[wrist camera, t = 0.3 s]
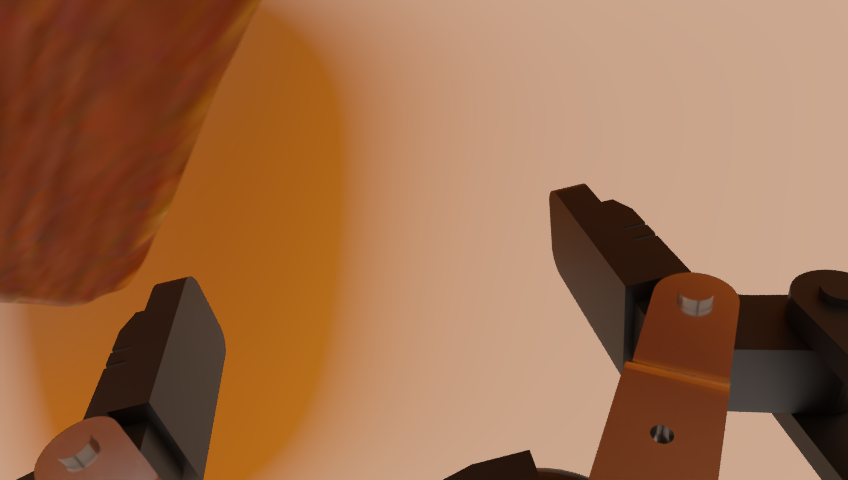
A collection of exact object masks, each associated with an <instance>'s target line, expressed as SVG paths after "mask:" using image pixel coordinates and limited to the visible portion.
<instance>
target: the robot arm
mask: <svg viewBox="0 0 848 480" xmlns="http://www.w3.org/2000/svg"><path fill="white" fill-rule="evenodd" d="M549 202H550V203H549V204H550V219H551V220H550V221H551V236H552V251H553V256H554V260H555V264H556V266H557V269H558V272H559V274H560V275H561V277H562V279H563V280H564V282H565V284H566V285H567V287H568V288H569V290H570V292H571V294H572V295H573V297H574V299H575V300H576V302H577V303H578V305H579V307H580V308H581V310H582V312H583V313H584V315H585V316H586V318H587V320H588V322H589V323H590V325H591V327H592V328H593V330H594V332H595V333H596V335H597V336H598V338H599V340H600V341H601V343H602V345H603V346H604V348H605V350H606V351H607V353H608V355H609V356H610V358H611V360H612V361H613V363H614V365H615V366H616V368H617V369H618V371H619V373H620V374H621V377H620V380H619V383H618V386H617V389H616V393H615V396H614V399H613V402H612V406H611V409H610V412H609V415H608V419H607V422H606V425H605V428H604V432H603V434H602V438H601V441H600V444H599V447H598V451H597V454H596V457H595V460H594V463H593V467H592V470H591V473H590V476H589V478H588V477H586V476H583V475H580V474H577V473H573V472H569V471H564V470H559V469H551V468H536V466H535V463H534V461H533V458H532V455H531V453H530V450H527V451H523V452H519V453H516V454H511V455H508V456H503V457H500V458H496V459H492V460H488V461H484V462H480V463H476V464H472V465H470V466H468V467H466V468H465V469H463V470H461V471H459V472H457V473H455V474H453V475H451V476H449V477H447V478H445V479H444V480H718V476H719V469H720V461H721V453H722V445H723V438H724V431H725V423H726V415H727V411H739V412H767V413H772V414H773V415H774V417H775V418H776V420H777V421H778V422H779V424H780V425H781V426H782V428H783V429H784V430H785V431H786V433H787V434H788V435H789V437H790V438H791V439H792V441H793V442H794V443H795V445H796V446H797V447H798V448H799V450H800V451H801V453H802V454H803V455H804V457H805V458H806V459H807V461H808V462H809V463H810V465H811V466H812V467H813V469H814V470H815V471H816V473H817V474H818V475H819V477H820V478H821V479H822V480H848V273H847V272H843V271H836V270H816V271H810V272H806V273H803V274H801V275H799V276H798V277H796V278H795V279H794V280H793V281H792V283H791V286H790V290H789V294H788V295H739V294H737V293H736V291H735V290H734V289H733V288H732V287H731V286H730V285H729V284H727V283H726V282H724V281H722V280H721V279H718V278H716V277H713V276H710V275H707V274H702V273H694V272H691V271H690V270H689V269H688V268H687V267H686V266H685V265H684V264H683V263H682V262H681V261H680V259H678V257H677V256H676V255H675V254H674V253H673V252H672V251H671V250H670V249H669V248H668V246H667V245H666V244H664V242H663V241H662V240H661V239H660V238H659V237H658V236H655V233H654V231H653V230H652V229H651V228H650V227H649V226H648V225H645V222H644V221H643V220H642V219H641V218H640V216H639V215H638V214H637V213H636V212H635V211H634V210H633V209H632V208H629V207H627V206H625V205H623V204H621V203H619V202H617V201H615V200H608V201H604V202H601V201H600V200H599V199H598V198H597V197H596V195H595V194H594V193H593V192H592V191H591V190H590V188H589V187H588V186H587V185H586V184H579V185H575V186H571V187H567V188H563V189H558V190H554V191H551V193H550V197H549ZM112 351H113V353H111V354H110V356H109V358H108V361H107V363H106V369H104V370H103V373H102V376H101V378H100V380H99V383H98V385H97V387H96V390H95V392H94V395H93V397H92V399H91V402H90V404H89V407H88V409H87V412H86V414H85V416H84V419H83V420H82V421H80V422H78V423H76V424H74V425H72V426H70V427H69V428H67V429H65V430H64V431H63V432H61V433H60V434H59V435H57V436H56V437H55V438H54V439H53V440H52V441H51V442H50V443H49V444H48V445H47V446H46V447H45V449H44V450H43V451H42V453H41V454H40V456H39V458H38V460H37V462H36V464H35V468H34V471H33V472H31V473H29V474H27V475H25V476H23V477H21V478H19V479H17V480H203V478H204V472H205V467H206V461H207V455H208V450H209V444H210V438H211V433H212V427H213V422H214V416H215V410H216V405H217V399H218V393H219V388H220V382H221V376H222V371H223V365H224V360H225V351H226V349H225V340H224V336H223V332H222V330H221V327H220V325H219V323H218V321H217V319H216V317H215V315H214V313H213V311H212V309H211V307H210V305H209V303H208V302H207V299H206V298H205V296H204V294H203V292H202V290H201V288H200V286H199V284H198V282H197V281H196V280H195V279H194V278H193V277H186V278H181V279H177V280H173V281H169V282H164V283H160V284H156V285H155V286H154V288H153V290H152V292H151V295H150V298H149V300H148V303H147V306H146V308H145V311H141V312H137V313H135V314H134V316H133V317H132V318H131V319H130V320H129V321H128V322H127V324H126V325H125V326H124V327H123V328H122V329H121V330H120V332H119V334H118V337H117V339H116V342H115V344H114V346H113V349H112Z"/></svg>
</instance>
